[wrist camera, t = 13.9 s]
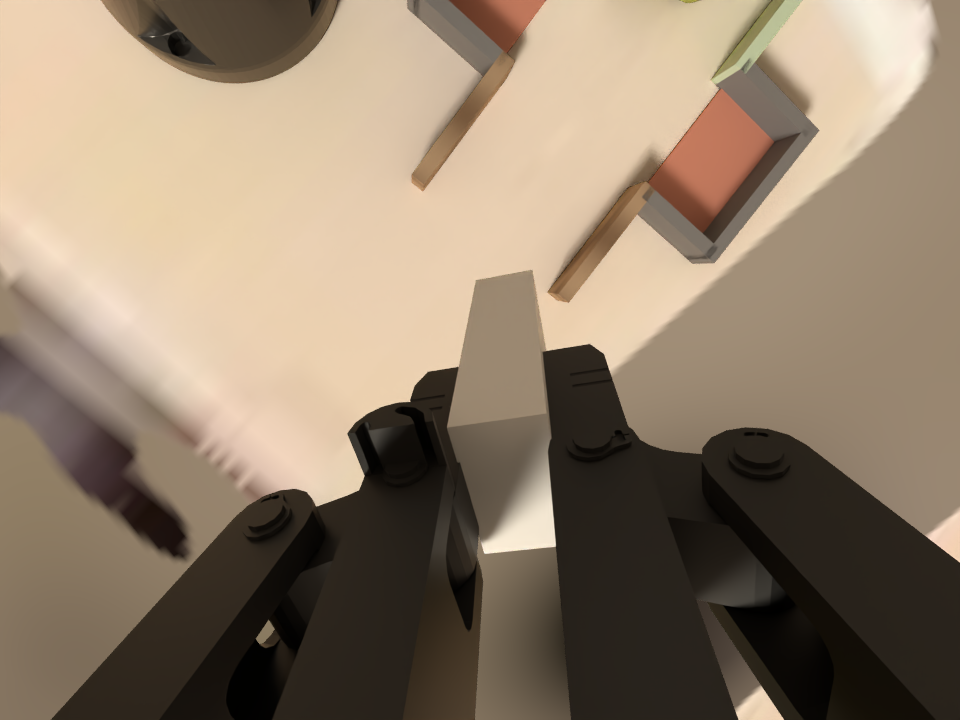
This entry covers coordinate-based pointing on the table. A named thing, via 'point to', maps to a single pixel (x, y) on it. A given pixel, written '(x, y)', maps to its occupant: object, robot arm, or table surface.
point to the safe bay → (757, 38)
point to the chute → (602, 235)
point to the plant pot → (689, 1)
